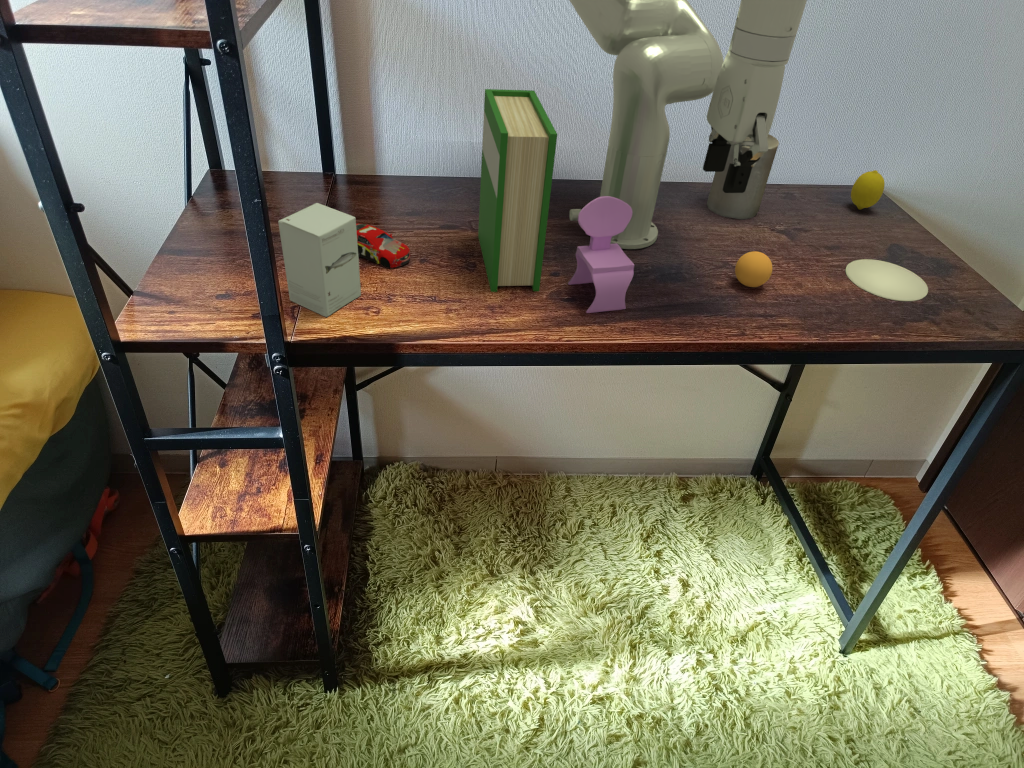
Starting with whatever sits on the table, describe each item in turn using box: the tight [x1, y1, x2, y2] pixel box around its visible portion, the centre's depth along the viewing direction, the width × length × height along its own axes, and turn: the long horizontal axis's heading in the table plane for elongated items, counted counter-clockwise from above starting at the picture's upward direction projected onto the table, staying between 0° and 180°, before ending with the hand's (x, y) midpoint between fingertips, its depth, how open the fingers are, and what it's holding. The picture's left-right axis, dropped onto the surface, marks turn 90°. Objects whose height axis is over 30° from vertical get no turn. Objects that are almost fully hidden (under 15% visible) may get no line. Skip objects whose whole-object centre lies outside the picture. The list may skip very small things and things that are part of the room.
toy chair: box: [567, 196, 635, 314], centre depth 101 cm, size 8×9×15 cm
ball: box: [734, 251, 773, 288], centre depth 110 cm, size 6×6×6 cm
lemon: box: [850, 169, 886, 211], centre depth 135 cm, size 6×6×8 cm
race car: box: [356, 223, 411, 269], centre depth 110 cm, size 13×5×4 cm, turn 58°
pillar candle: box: [706, 133, 780, 220], centre depth 129 cm, size 10×10×15 cm
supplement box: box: [277, 202, 362, 318], centre depth 96 cm, size 7×7×13 cm
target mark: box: [845, 258, 929, 302], centre depth 116 cm, size 13×13×1 cm
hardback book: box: [477, 88, 558, 293], centre depth 104 cm, size 18×7×24 cm, turn 9°
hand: (723, 180), depth 99 cm, fingers open, 6 cm apart
